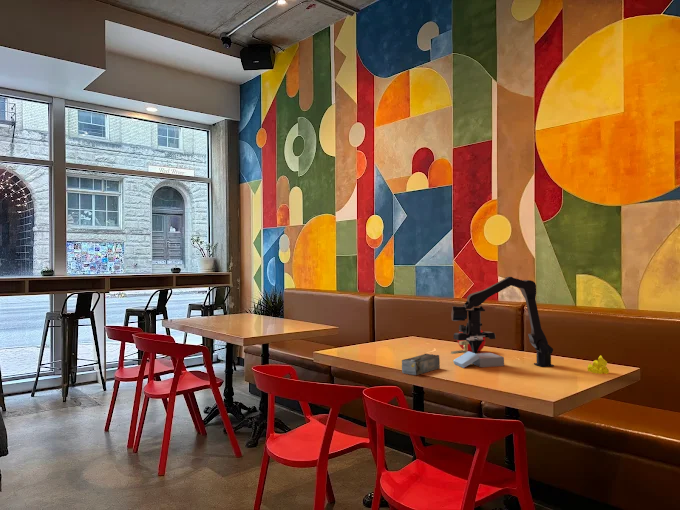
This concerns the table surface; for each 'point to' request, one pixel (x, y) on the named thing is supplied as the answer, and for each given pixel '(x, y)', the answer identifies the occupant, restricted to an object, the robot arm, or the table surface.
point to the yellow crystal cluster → (598, 366)
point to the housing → (489, 360)
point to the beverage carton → (420, 364)
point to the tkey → (464, 347)
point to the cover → (466, 359)
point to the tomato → (470, 346)
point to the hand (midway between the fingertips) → (474, 354)
